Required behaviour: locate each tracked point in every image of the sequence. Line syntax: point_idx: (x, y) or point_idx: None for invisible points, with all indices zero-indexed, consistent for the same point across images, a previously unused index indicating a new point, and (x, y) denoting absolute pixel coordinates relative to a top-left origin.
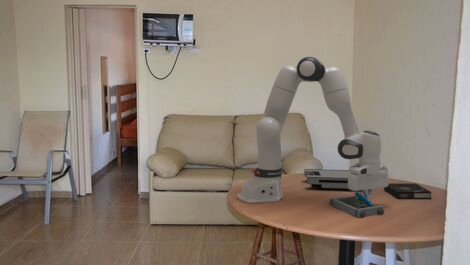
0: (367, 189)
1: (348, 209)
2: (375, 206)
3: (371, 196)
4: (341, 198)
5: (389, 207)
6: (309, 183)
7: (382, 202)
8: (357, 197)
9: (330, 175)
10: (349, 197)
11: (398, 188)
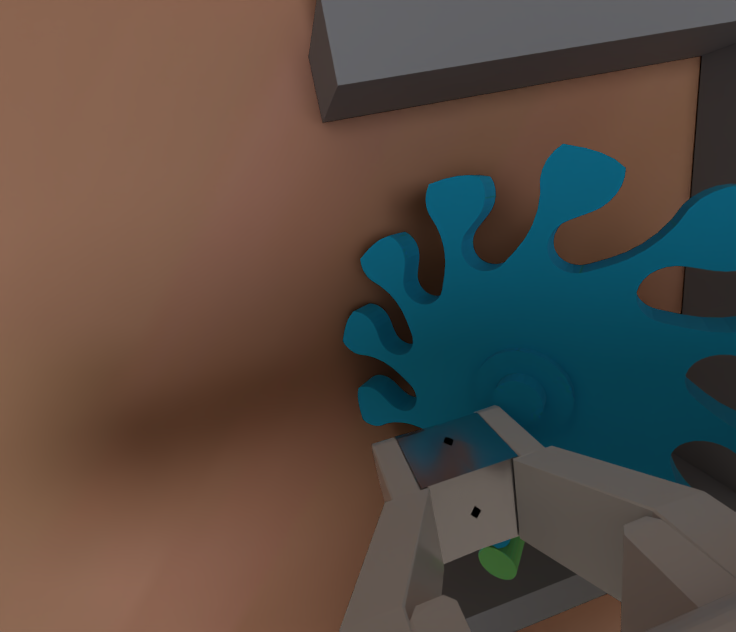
0: (719, 599)
1: None
2: (478, 51)
3: (389, 465)
4: None
5: (18, 353)
6: None
7: (39, 583)
8: (517, 549)
9: None
10: (564, 583)
11: None
